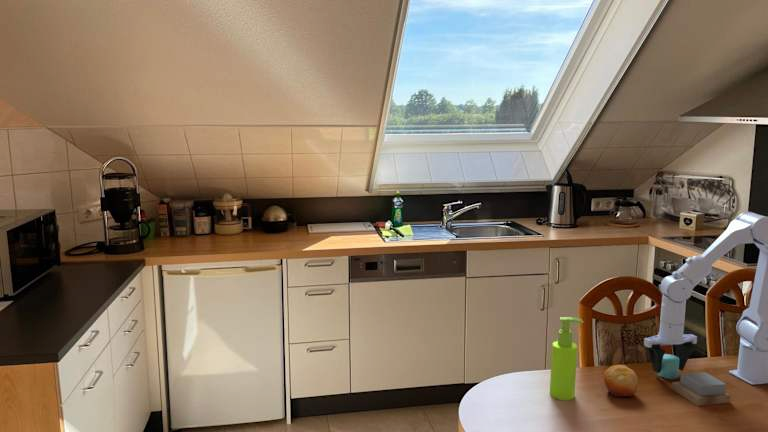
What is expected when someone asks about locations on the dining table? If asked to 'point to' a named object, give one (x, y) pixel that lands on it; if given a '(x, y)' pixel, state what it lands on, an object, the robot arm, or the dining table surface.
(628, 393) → the tan round lump
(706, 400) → the beige square slab
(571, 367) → the soap dispenser
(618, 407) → the dining table surface
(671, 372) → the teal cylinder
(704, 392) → the grey square block
